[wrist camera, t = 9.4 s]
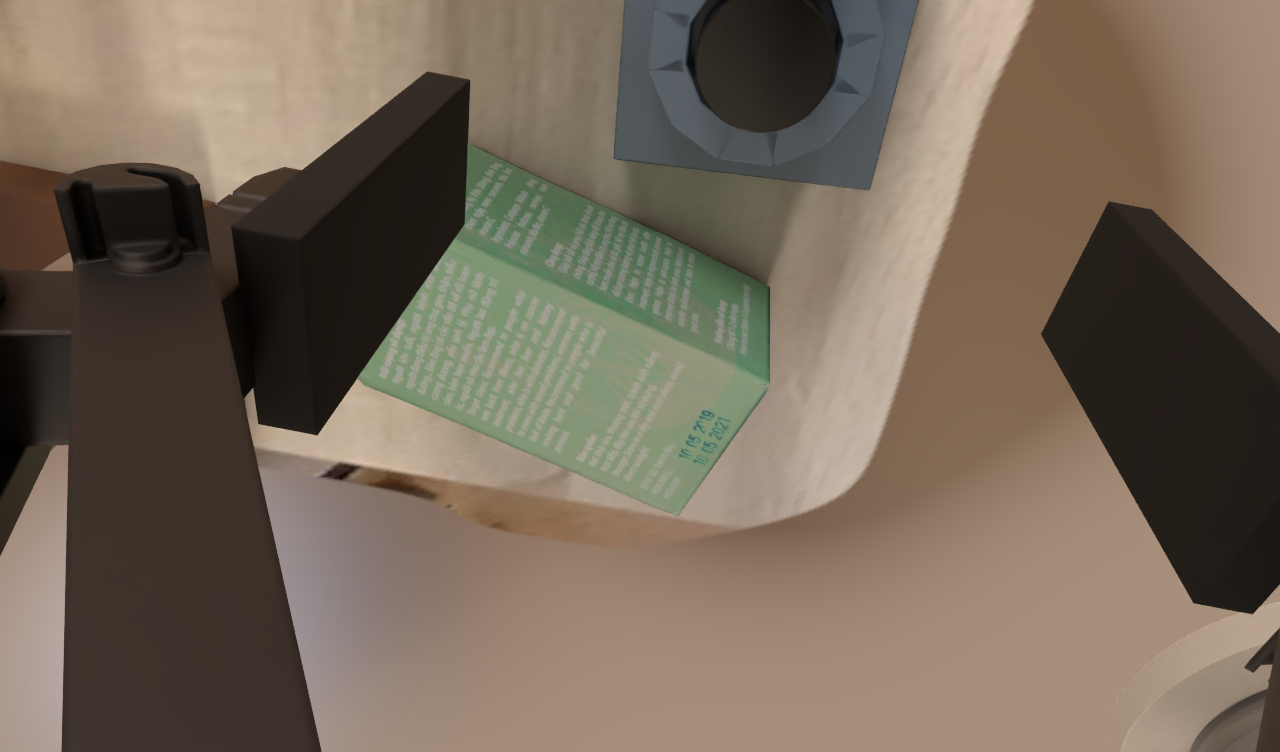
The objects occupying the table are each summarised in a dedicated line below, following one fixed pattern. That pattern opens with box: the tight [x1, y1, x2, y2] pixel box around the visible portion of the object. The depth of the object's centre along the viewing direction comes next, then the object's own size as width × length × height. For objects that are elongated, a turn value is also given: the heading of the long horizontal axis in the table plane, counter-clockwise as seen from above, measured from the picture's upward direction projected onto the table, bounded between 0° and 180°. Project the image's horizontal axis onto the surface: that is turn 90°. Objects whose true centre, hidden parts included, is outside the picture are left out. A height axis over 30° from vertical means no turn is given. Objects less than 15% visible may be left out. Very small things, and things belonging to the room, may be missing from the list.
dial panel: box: [0, 161, 244, 401], centre depth 36 cm, size 18×13×3 cm
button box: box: [614, 0, 919, 190], centre depth 26 cm, size 9×9×4 cm
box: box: [358, 144, 770, 516], centre depth 31 cm, size 7×14×8 cm, turn 66°
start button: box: [695, 0, 836, 133], centre depth 24 cm, size 4×4×2 cm
